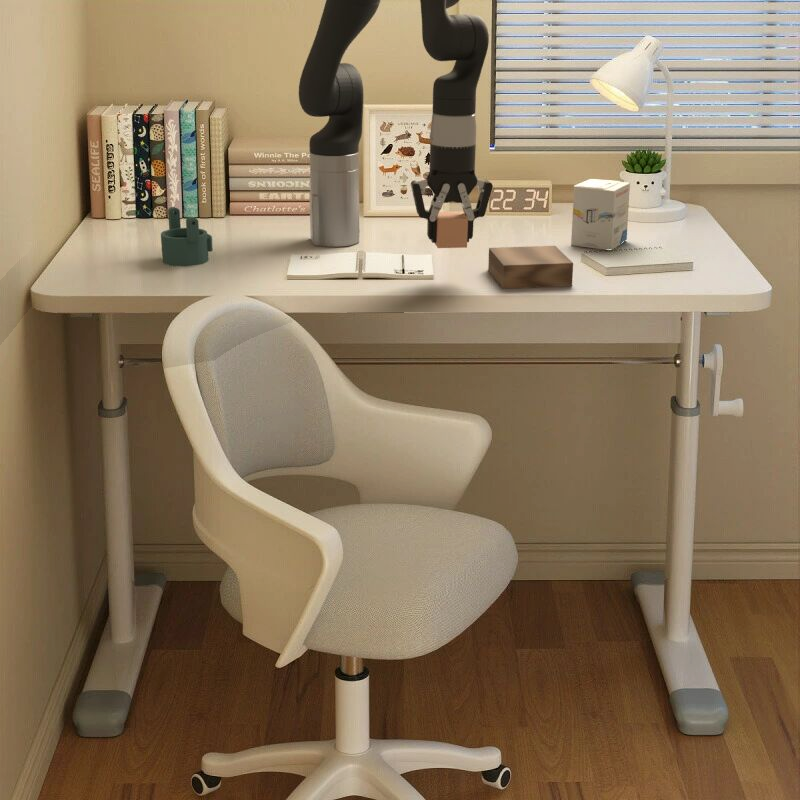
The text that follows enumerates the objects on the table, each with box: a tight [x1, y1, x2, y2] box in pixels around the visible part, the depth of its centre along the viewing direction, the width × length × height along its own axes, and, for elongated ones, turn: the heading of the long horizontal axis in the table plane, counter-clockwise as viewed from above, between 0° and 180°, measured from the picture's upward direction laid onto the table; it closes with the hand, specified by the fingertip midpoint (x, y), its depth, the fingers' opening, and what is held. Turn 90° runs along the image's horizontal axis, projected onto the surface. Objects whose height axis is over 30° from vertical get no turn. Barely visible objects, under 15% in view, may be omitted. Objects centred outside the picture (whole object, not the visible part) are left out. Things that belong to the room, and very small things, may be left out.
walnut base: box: [487, 245, 574, 289], centre depth 217 cm, size 12×12×4 cm
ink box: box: [570, 178, 631, 250], centre depth 238 cm, size 9×8×12 cm
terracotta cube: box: [434, 210, 468, 249], centre depth 212 cm, size 5×5×5 cm
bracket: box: [160, 206, 213, 267], centre depth 227 cm, size 9×9×9 cm
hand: (450, 241), depth 213 cm, fingers closed on terracotta cube, 5 cm apart
